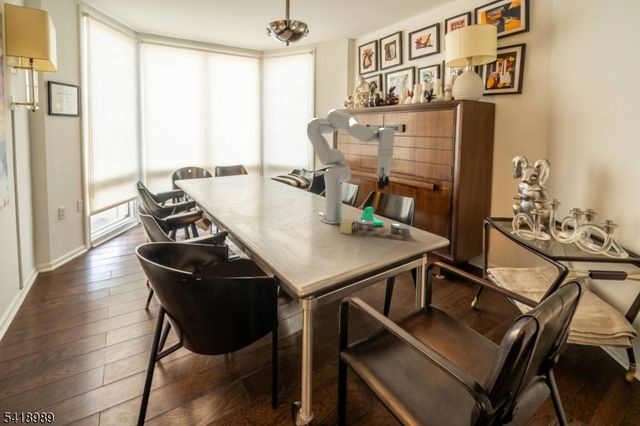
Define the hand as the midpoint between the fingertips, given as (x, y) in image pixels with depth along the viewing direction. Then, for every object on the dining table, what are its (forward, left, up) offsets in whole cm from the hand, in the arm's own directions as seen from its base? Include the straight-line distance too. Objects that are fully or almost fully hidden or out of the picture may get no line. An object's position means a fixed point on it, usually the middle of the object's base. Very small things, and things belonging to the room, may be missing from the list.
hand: (383, 187), depth 182 cm
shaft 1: (-7, -5, -22) cm, 24 cm away
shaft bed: (+2, -5, -23) cm, 24 cm away
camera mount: (-9, +12, -24) cm, 28 cm away
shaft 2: (+11, -5, -22) cm, 25 cm away
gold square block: (-15, -9, -24) cm, 29 cm away
